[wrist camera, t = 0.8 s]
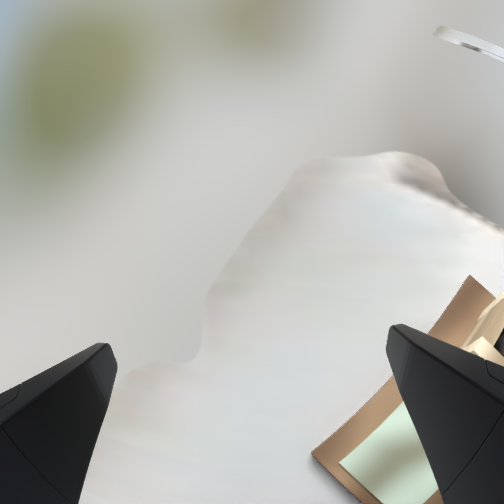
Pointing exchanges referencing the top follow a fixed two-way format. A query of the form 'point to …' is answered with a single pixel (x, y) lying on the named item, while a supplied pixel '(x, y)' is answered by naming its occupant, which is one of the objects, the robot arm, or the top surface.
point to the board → (396, 426)
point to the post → (500, 344)
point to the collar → (487, 332)
